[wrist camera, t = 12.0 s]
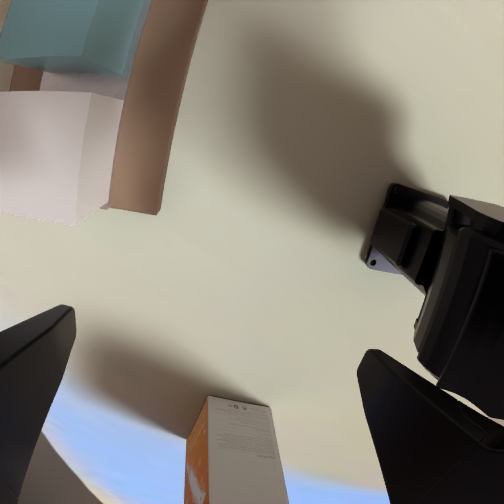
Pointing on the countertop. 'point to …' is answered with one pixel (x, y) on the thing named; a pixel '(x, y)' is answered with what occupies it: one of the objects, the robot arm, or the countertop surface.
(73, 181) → the mounted modules
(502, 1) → the countertop surface
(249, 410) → the small box
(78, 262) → the countertop surface
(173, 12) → the rail board
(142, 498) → the countertop surface
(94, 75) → the metal rail
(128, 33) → the block
